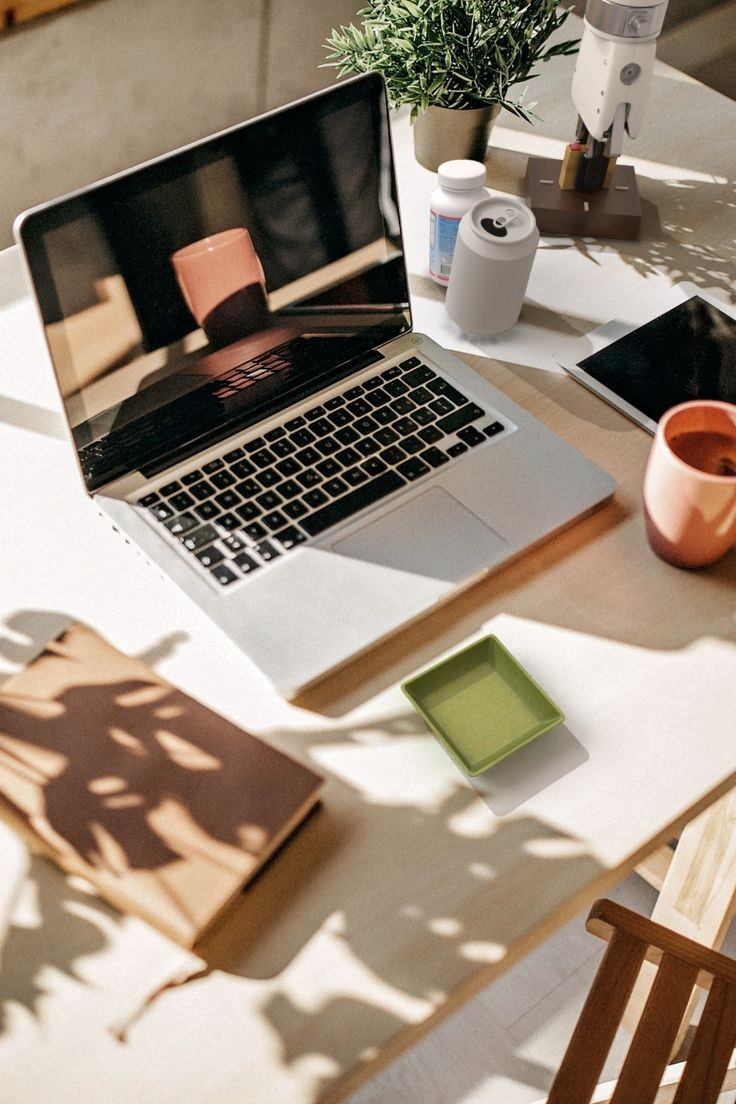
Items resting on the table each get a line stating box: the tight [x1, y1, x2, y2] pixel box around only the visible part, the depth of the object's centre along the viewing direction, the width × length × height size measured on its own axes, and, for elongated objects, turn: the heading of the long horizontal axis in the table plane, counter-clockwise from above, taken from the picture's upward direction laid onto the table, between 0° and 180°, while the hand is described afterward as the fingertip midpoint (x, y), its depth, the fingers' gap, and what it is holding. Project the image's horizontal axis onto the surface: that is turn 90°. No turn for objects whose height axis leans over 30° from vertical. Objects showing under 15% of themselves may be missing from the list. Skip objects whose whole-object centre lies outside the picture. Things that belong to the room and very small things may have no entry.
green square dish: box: [400, 633, 566, 778], centre depth 74 cm, size 9×9×2 cm
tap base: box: [523, 156, 643, 241], centre depth 115 cm, size 12×10×3 cm
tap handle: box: [559, 142, 618, 190], centre depth 112 cm, size 6×1×5 cm, turn 98°
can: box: [444, 195, 541, 336], centre depth 98 cm, size 8×8×12 cm
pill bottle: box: [428, 159, 492, 288], centre depth 103 cm, size 6×6×11 cm
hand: (585, 181), depth 113 cm, fingers closed
